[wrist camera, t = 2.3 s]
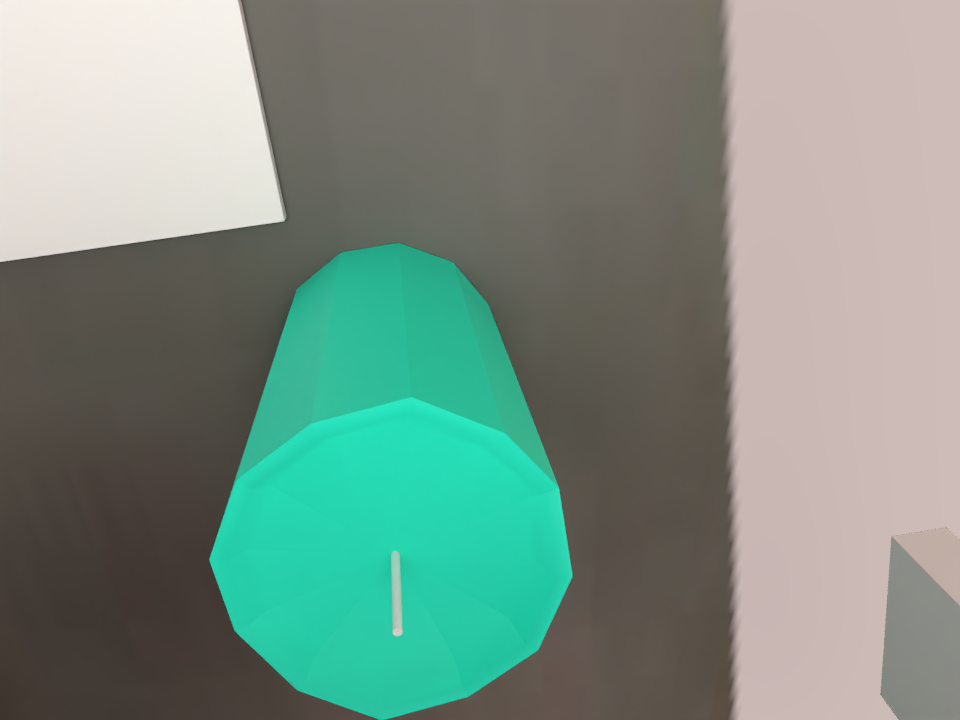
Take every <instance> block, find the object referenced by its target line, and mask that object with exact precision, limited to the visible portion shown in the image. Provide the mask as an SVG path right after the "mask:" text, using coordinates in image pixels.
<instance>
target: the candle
mask: <svg viewBox="0 0 960 720" xmlns="http://www.w3.org/2000/svg"><path fill="white" fill-rule="evenodd" d="M209 561H210V564H211V566H212V569H213V572H214V575H215V578H216V580H217V583H218V586H219V589H220V591H221V594H222V597H223V600H224V603H225V605H226V608H227V611H228V614H229V617H230V619H231V622H232V625H233V628H234V631H235V632H236V633H237V634H238V635H239V636H240V637H241V638H242V639H243V640H245V641H246V642H247V643H248V644H249V645H250V646H251V647H252V648H253V649H254V650H255V651H256V652H257V653H258V654H259V655H260V656H261V657H262V658H264V659H265V660H266V661H267V662H268V663H269V664H270V665H271V666H272V667H273V668H274V669H275V670H276V671H277V672H278V673H279V674H280V675H281V676H283V677H284V678H285V679H286V680H287V681H288V682H289V683H290V684H291V685H292V686H293V687H294V688H295V689H296V690H298V691H300V692H303V693H306V694H309V695H312V696H314V697H317V698H320V699H323V700H326V701H328V702H331V703H334V704H337V705H340V706H342V707H345V708H348V709H351V710H354V711H356V712H359V713H362V714H365V715H368V716H370V717H373V718H376V719H379V720H386V719H390V718H393V717H397V716H401V715H404V714H408V713H411V712H415V711H419V710H422V709H426V708H430V707H433V706H437V705H441V704H444V703H448V702H451V701H455V700H459V699H462V698H466V697H469V696H470V695H472V694H473V693H475V692H476V691H478V690H479V689H481V688H482V687H484V686H485V685H487V684H488V683H490V682H491V681H493V680H494V679H496V678H497V677H499V676H500V675H502V674H503V673H505V672H506V671H508V670H509V669H511V668H512V667H514V666H515V665H517V664H518V663H520V662H521V661H523V660H524V659H526V658H527V657H529V656H530V655H532V654H533V653H535V652H536V651H538V649H539V647H540V645H541V643H542V641H543V639H544V637H545V634H546V632H547V630H548V628H549V626H550V624H551V622H552V619H553V617H554V615H555V613H556V611H557V609H558V607H559V604H560V602H561V600H562V598H563V596H564V594H565V592H566V589H567V587H568V585H569V583H570V581H571V579H572V577H573V575H572V569H571V562H570V556H569V549H568V543H567V537H566V530H565V524H564V517H563V511H562V504H561V498H560V491H559V487H558V484H557V481H556V479H555V476H554V474H553V471H552V468H551V466H550V463H549V461H548V458H547V455H546V453H545V450H544V448H543V445H542V442H541V440H540V437H539V435H538V432H537V429H536V427H535V424H534V422H533V419H532V416H531V414H530V411H529V409H528V406H527V403H526V401H525V398H524V396H523V393H522V390H521V388H520V385H519V383H518V380H517V377H516V375H515V372H514V370H513V367H512V364H511V362H510V359H509V357H508V354H507V351H506V349H505V346H504V344H503V341H502V338H501V336H500V333H499V331H498V328H497V325H496V323H495V320H494V318H493V315H492V312H491V310H490V307H489V305H488V303H487V302H486V301H485V300H484V298H483V297H482V296H481V295H480V294H479V292H478V291H477V290H476V289H475V288H474V287H473V285H472V284H471V283H470V282H469V281H468V279H467V278H466V277H465V276H464V275H463V273H462V272H461V271H460V270H459V269H458V267H457V266H456V265H455V264H454V263H453V262H451V261H448V260H445V259H443V258H440V257H437V256H434V255H432V254H429V253H426V252H423V251H420V250H418V249H415V248H412V247H409V246H406V245H404V244H401V243H394V244H388V245H382V246H376V247H370V248H364V249H358V250H352V251H347V252H341V253H340V254H338V255H337V256H336V257H335V258H333V259H332V260H331V261H330V262H329V263H327V264H326V265H325V266H324V267H323V268H321V269H320V270H319V271H318V272H317V273H315V274H314V275H313V276H312V277H311V278H309V279H308V280H307V281H306V282H304V283H303V284H302V285H301V286H300V287H298V288H297V290H296V293H295V296H294V299H293V302H292V305H291V308H290V311H289V314H288V317H287V320H286V323H285V326H284V329H283V332H282V335H281V338H280V341H279V344H278V347H277V350H276V353H275V356H274V359H273V362H272V366H271V369H270V372H269V375H268V378H267V381H266V384H265V387H264V390H263V394H262V397H261V400H260V403H259V406H258V409H257V412H256V415H255V419H254V422H253V425H252V428H251V431H250V434H249V437H248V440H247V444H246V447H245V450H244V453H243V456H242V459H241V462H240V465H239V468H238V472H237V475H236V478H235V481H234V484H233V487H232V490H231V493H230V497H229V500H228V503H227V506H226V509H225V512H224V515H223V518H222V521H221V525H220V528H219V531H218V534H217V537H216V540H215V543H214V546H213V550H212V553H211V556H210V559H209Z"/></svg>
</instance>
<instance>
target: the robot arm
mask: <svg viewBox="0 0 960 720" xmlns="http://www.w3.org/2000/svg"><path fill="white" fill-rule="evenodd" d="M881 696H882V697H883V699H884V700H885V702H886V703H887V704H888V705H889V707H890V708H891V710H892V711H893V713H894V714H895V715H896V717H897V718H898V719H899V720H960V539H959V538H958V537H957V536H955V535H954V534H953V533H952V532H951V531H950V530H949V529H948V528H947V527H946V528H940V529H934V530H927V531H921V532H915V533H909V534H902V535H896V536H892V538H891V552H890V567H889V581H888V595H887V611H886V624H885V638H884V654H883V667H882V681H881Z"/></svg>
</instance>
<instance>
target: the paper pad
mask: <svg viewBox="0 0 960 720" xmlns="http://www.w3.org/2000/svg"><path fill="white" fill-rule="evenodd" d="M285 219H286V212H285V207H284V203H283V198H282V193H281V188H280V184H279V179H278V174H277V169H276V165H275V160H274V155H273V150H272V145H271V141H270V136H269V131H268V126H267V122H266V117H265V112H264V107H263V103H262V98H261V93H260V88H259V83H258V79H257V74H256V69H255V64H254V60H253V55H252V50H251V45H250V41H249V36H248V31H247V26H246V21H245V17H244V12H243V7H242V2H241V0H0V262H3V261H10V260H17V259H24V258H31V257H38V256H45V255H52V254H59V253H66V252H73V251H80V250H87V249H94V248H101V247H108V246H115V245H122V244H129V243H136V242H143V241H150V240H157V239H164V238H171V237H178V236H185V235H191V234H198V233H205V232H212V231H219V230H226V229H233V228H240V227H247V226H254V225H261V224H268V223H275V222H282V221H285Z"/></svg>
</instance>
